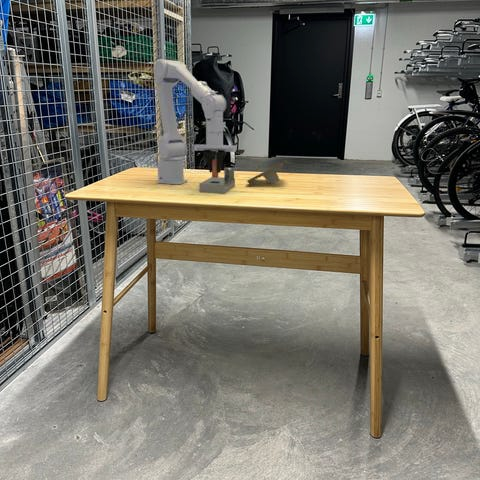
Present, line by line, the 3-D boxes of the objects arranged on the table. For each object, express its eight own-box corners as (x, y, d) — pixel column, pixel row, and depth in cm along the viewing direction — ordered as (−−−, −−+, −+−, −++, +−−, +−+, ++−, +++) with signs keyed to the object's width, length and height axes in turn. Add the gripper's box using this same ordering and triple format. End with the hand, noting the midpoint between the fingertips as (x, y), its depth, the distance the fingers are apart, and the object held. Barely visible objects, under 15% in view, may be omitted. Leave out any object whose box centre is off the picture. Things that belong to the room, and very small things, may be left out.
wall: (260, 199, 156) (291, 172, 154) (244, 181, 156) (276, 154, 153) (261, 196, 173) (290, 172, 170) (248, 180, 172) (276, 155, 169)
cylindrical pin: (212, 176, 150) (212, 159, 148) (218, 176, 150) (218, 159, 148) (211, 177, 148) (211, 160, 146) (217, 177, 148) (217, 160, 146)
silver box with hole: (199, 192, 148) (198, 172, 145) (212, 184, 161) (211, 166, 158) (224, 193, 145) (224, 173, 143) (235, 186, 158) (235, 167, 156)
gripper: (190, 132, 142) (191, 172, 146) (231, 133, 138) (231, 174, 143) (197, 131, 148) (198, 169, 153) (237, 132, 145) (237, 171, 149)
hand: (215, 172), depth 148 cm, fingers closed on cylindrical pin, 2 cm apart
